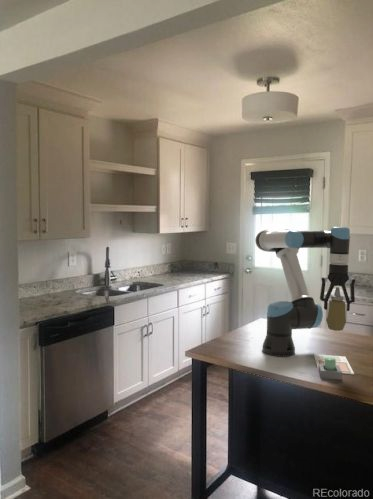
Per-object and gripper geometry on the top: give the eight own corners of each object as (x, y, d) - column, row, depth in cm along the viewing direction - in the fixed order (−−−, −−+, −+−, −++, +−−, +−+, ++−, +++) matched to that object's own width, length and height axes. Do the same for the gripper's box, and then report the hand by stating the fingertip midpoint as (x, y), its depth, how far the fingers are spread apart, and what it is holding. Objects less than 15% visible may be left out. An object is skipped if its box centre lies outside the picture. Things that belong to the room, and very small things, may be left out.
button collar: (320, 377, 169) (320, 370, 169) (318, 370, 177) (318, 363, 177) (341, 379, 168) (341, 372, 168) (338, 372, 176) (338, 365, 175)
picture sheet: (318, 371, 176) (318, 370, 176) (313, 355, 197) (313, 353, 197) (354, 374, 174) (354, 373, 173) (345, 357, 194) (345, 356, 194)
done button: (325, 372, 171) (325, 360, 170) (323, 369, 175) (324, 357, 174) (336, 373, 170) (336, 361, 170) (334, 369, 174) (335, 358, 174)
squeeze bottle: (341, 326, 184) (343, 285, 182) (348, 332, 176) (351, 289, 174) (322, 326, 184) (324, 285, 182) (329, 331, 175) (331, 289, 174)
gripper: (315, 263, 176) (313, 318, 178) (365, 265, 172) (362, 321, 174) (313, 261, 183) (311, 314, 185) (361, 263, 179) (358, 317, 181)
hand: (336, 317), depth 179 cm, fingers closed on squeeze bottle, 6 cm apart
